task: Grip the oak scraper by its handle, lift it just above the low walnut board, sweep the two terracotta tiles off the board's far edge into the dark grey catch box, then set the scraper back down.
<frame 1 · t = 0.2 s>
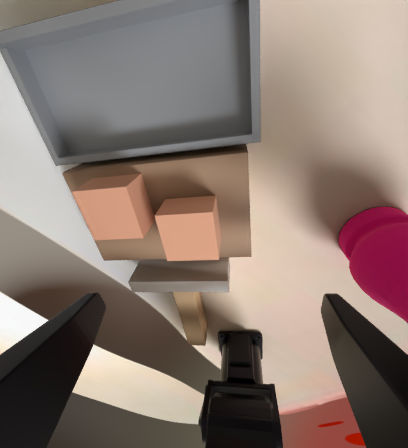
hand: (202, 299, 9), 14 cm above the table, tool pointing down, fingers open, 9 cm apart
catch box: (143, 92, 18), on the table
scraper: (191, 289, 29), on the table
tile b: (125, 199, 20), point 3 cm above the table, touching board
tile a: (194, 219, 20), point 3 cm above the table, touching board
pepper mill: (371, 232, 22), on the table
board: (170, 202, 23), on the table
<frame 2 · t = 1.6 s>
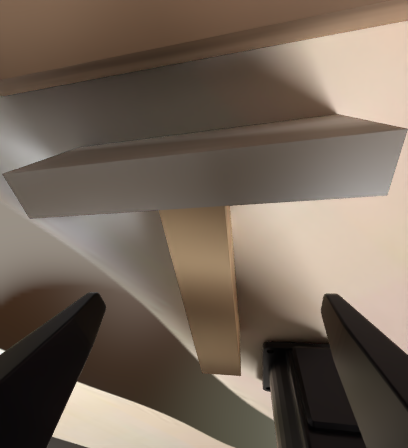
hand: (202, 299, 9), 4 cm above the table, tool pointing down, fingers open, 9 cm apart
scraper: (210, 240, 12), on the table
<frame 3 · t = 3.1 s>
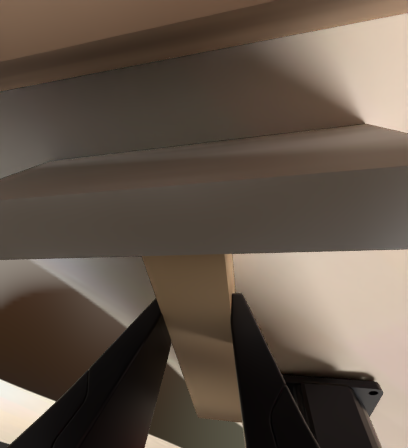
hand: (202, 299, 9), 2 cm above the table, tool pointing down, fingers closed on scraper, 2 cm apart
scraper: (207, 268, 10), on the table, touching gripper
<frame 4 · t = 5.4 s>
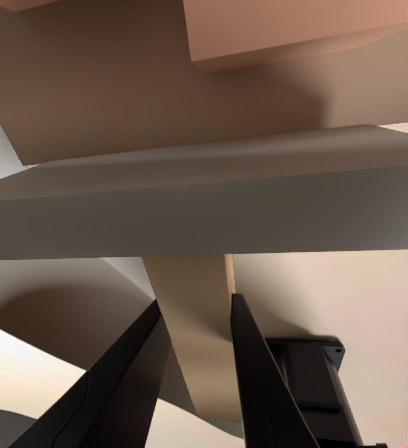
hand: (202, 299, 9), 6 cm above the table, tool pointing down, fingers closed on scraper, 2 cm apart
scraper: (207, 268, 10), point 4 cm above the table, touching gripper
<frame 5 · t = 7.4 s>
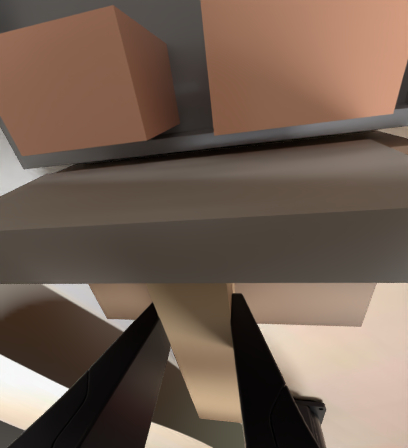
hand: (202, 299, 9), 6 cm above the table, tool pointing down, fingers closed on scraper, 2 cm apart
catch box: (191, 25, 9), on the table
scraper: (208, 277, 10), point 4 cm above the table, touching gripper
tile b: (114, 137, 9), point 3 cm above the table, tilted 90°, touching catch box
tile a: (282, 117, 8), point 3 cm above the table, tilted 90°, touching catch box
board: (216, 230, 14), on the table
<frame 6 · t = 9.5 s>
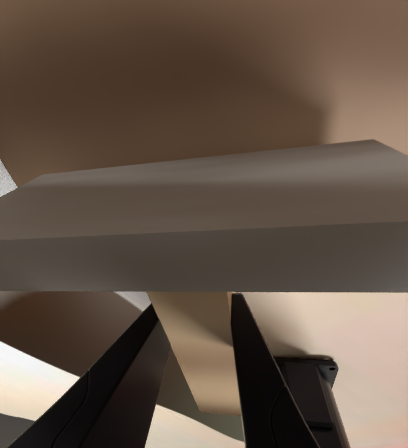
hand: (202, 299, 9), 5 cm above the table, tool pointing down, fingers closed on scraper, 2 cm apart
scraper: (208, 276, 10), point 4 cm above the table, touching gripper
board: (190, 83, 9), on the table
when the fingers open (3 cm above the table, at t = 11.1 s): scraper drops 1 cm, on the table.
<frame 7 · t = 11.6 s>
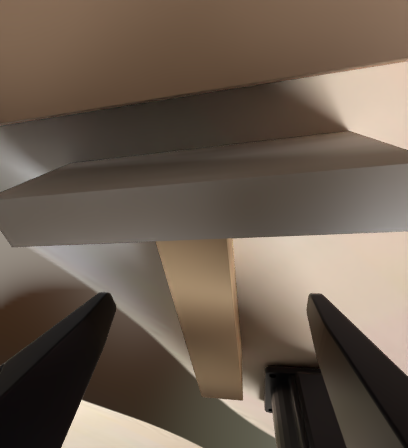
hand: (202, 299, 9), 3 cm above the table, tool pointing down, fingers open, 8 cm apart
scraper: (210, 259, 11), on the table
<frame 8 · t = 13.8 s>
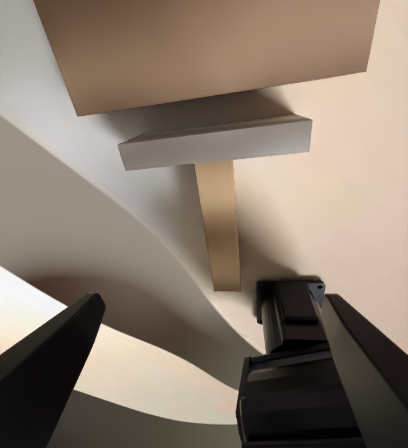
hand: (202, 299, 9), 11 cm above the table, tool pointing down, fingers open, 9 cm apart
scraper: (220, 196, 18), on the table
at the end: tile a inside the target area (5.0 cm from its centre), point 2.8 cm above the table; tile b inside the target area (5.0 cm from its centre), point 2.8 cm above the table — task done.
